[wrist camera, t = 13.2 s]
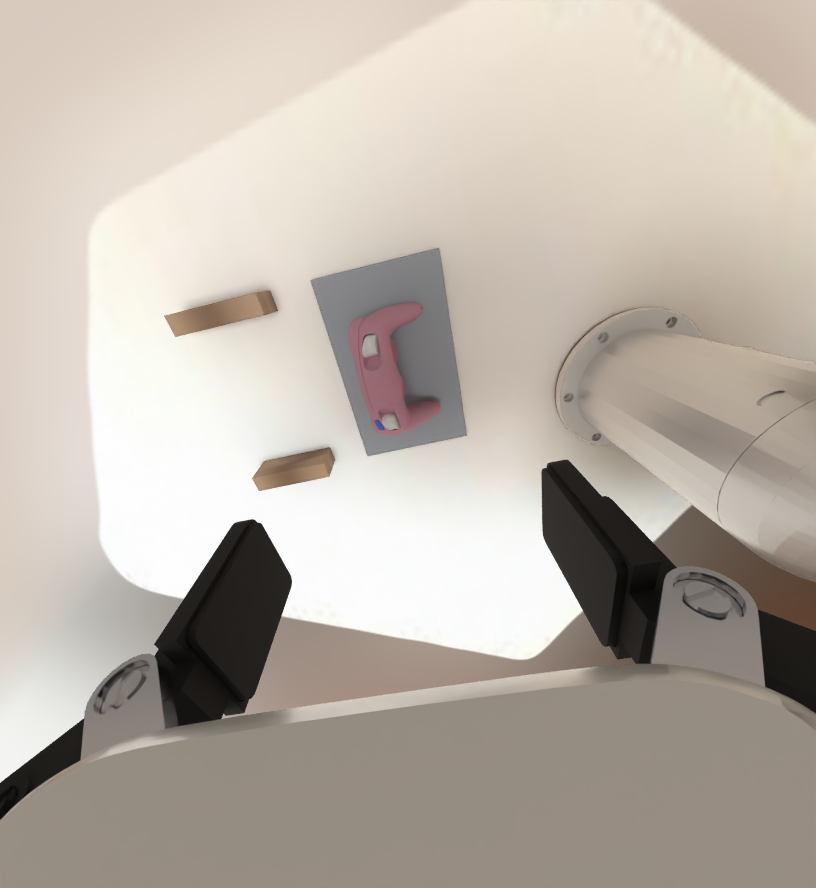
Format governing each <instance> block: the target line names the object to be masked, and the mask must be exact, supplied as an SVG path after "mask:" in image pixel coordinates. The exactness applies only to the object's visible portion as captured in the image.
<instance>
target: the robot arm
mask: <svg viewBox="0 0 816 888" xmlns="http://www.w3.org/2000/svg"><path fill="white" fill-rule="evenodd" d="M599 335H600V336H599ZM598 336H599V338H598ZM565 395H566V396H565ZM556 405H557V411H558V413H559V415H560V418H561V420H562V422H563V423H564V424H565V426H566V427H567V428H568V429H569V430H570V431H571V432H572V433H573V434H574V435H576V436H577V437H579V438H580V439H582V440H584V441H586V442H588V443H591V444H595V445H602V446H616V445H617V446H618V447H619V448H620V449H622V450H623V451H624V452H625V453H627V454H628V455H629V456H631V457H632V458H633V459H634V460H636V461H637V462H638V463H640V464H641V465H642V466H643V467H645V468H646V469H647V470H649V471H650V472H651V473H652V474H654V475H655V476H656V477H658V478H659V479H660V480H661V481H663V482H664V483H665V484H667V485H668V486H669V487H670V488H672V489H673V490H674V491H675V492H677V493H678V494H679V495H681V496H682V497H683V498H684V499H686V500H687V501H688V502H690V503H691V504H692V505H693V506H695V507H696V508H697V509H699V510H700V511H701V512H702V513H704V514H705V515H706V516H708V517H709V518H710V519H711V520H713V521H714V522H715V523H717V524H718V525H719V526H720V527H722V528H723V529H724V530H726V531H727V532H728V533H730V534H731V535H732V536H734V537H735V538H736V539H738V540H739V541H740V542H741V543H743V544H744V545H745V546H747V547H748V548H749V549H750V550H752V551H753V552H755V553H756V554H758V555H759V556H760V557H762V558H763V559H765V560H767V561H769V562H770V563H772V564H774V565H775V566H777V567H780V568H781V569H784V570H786V571H788V572H790V573H793V574H795V575H797V576H799V577H803V578H806V579H809V580H812V581H815V582H816V363H812V362H808V361H803V360H798V359H794V358H789V357H784V356H780V355H775V354H770V353H766V352H761V351H756V350H754V348H752V347H738V346H733V345H728V344H724V343H719V342H714V341H709V340H705V339H702V337H701V335H700V333H699V330H698V329H697V328H696V326H695V325H694V324H693V323H692V322H691V320H689V319H688V318H686V317H685V316H683V315H682V314H680V313H677V312H674V311H671V310H668V309H660V308H638V309H633V310H629V311H625V312H622V313H620V314H617V315H615V316H613V317H610V318H609V319H607V320H605V321H604V322H602V323H601V324H599V325H597V326H596V327H595V328H593V329H592V330H591V331H590V332H589V333H588V334H586V335H585V336H584V337H583V338H582V339H581V340H580V342H579V343H578V344H577V345H576V346H575V347H574V348H573V350H572V351H571V353H570V354H569V356H568V358H567V359H566V361H565V363H564V365H563V367H562V369H561V372H560V374H559V378H558V382H557V386H556ZM542 525H543V536H544V539H545V542H546V544H547V546H548V548H549V549H550V551H551V553H552V555H553V557H554V559H555V560H556V562H557V564H558V566H559V568H560V569H561V571H562V573H563V575H564V577H565V579H566V580H567V582H568V584H569V586H570V588H571V589H572V591H573V593H574V595H575V597H576V599H577V600H578V602H579V604H580V606H581V608H582V609H583V611H584V613H585V615H586V617H587V619H588V620H589V622H590V624H591V626H592V627H593V629H594V631H595V633H596V635H597V637H598V638H599V640H600V641H601V643H602V645H603V646H605V647H606V646H610V647H611V649H612V651H613V652H614V654H615V656H616V658H617V659H624V658H631V657H632V659H633V660H634V662H635V664H625V665H610V666H598V667H590V668H582V669H573V670H565V671H556V672H548V673H539V674H531V675H524V676H516V677H509V678H503V679H495V680H488V681H480V682H473V683H465V684H458V685H451V686H444V687H436V688H430V689H423V690H415V691H409V692H401V693H394V694H387V695H380V696H373V697H366V698H359V699H352V700H345V701H339V702H332V703H325V704H318V705H311V706H304V707H298V708H291V709H284V710H278V711H271V712H264V713H257V714H251V715H245V716H237V717H231V718H225V719H221V718H222V715H223V713H224V714H225V715H226V716H227V715H234V714H240V713H244V712H245V709H246V707H247V704H248V701H249V699H251V698H252V697H253V695H254V694H255V692H256V689H257V686H258V683H259V680H260V677H261V674H262V671H263V668H264V665H265V662H266V660H267V657H268V654H269V651H270V648H271V644H272V642H273V639H274V636H275V633H276V630H277V627H278V624H279V621H280V618H281V615H282V612H283V610H284V607H285V604H286V601H287V598H288V595H289V592H290V589H291V585H292V579H291V575H290V573H289V572H288V570H287V568H286V566H285V565H284V563H283V561H282V559H281V557H280V556H279V554H278V552H277V550H276V549H275V547H274V545H273V543H272V541H271V540H270V538H269V536H268V534H267V533H266V531H265V529H264V527H263V525H262V524H261V523H257V522H256V521H255V520H252V519H251V520H246V521H241V522H236V523H234V524H233V525H232V527H231V528H230V530H229V531H228V533H227V534H226V536H225V537H224V539H223V540H222V542H221V543H220V545H219V546H218V548H217V550H216V551H215V553H214V554H213V556H212V557H211V559H210V560H209V562H208V563H207V565H206V566H205V568H204V569H203V571H202V572H201V574H200V575H199V577H198V578H197V580H196V582H195V583H194V585H193V586H192V588H191V589H190V591H189V592H188V594H187V595H186V597H185V598H184V600H183V601H182V603H181V604H180V606H179V607H178V609H177V610H176V612H175V614H174V615H173V617H172V618H171V620H170V621H169V623H168V624H167V626H166V627H165V629H164V630H163V632H162V633H161V635H160V636H159V638H158V639H157V641H156V642H155V644H154V645H155V646H157V648H158V649H159V650H158V652H157V653H156V655H155V656H153V655H151V654H141V655H138V656H136V657H133V658H131V659H129V660H128V661H126V662H124V663H122V664H121V665H120V666H119V667H117V668H116V669H115V670H113V671H112V672H111V673H110V674H109V675H108V676H107V677H106V678H105V679H104V680H103V681H102V682H101V683H100V685H99V686H98V687H97V688H96V690H95V691H94V692H93V694H92V696H91V698H90V699H89V701H88V703H87V706H86V710H85V717H84V719H83V720H81V721H80V722H79V723H77V724H76V725H75V726H74V727H72V728H71V729H70V730H68V731H67V732H66V733H64V734H63V735H62V736H61V737H59V738H58V739H57V740H55V741H54V742H53V743H52V744H50V745H49V746H47V747H46V748H45V749H44V750H42V751H41V752H40V753H39V754H37V755H36V756H34V757H33V758H32V759H31V760H29V761H28V762H27V763H25V764H24V765H23V766H22V767H20V768H19V769H18V770H16V771H15V772H14V773H12V774H11V775H10V776H9V777H7V778H6V779H5V780H3V781H2V782H1V783H0V888H816V631H814V630H811V629H808V628H805V627H803V626H800V625H798V624H795V623H792V622H790V621H787V620H784V619H782V618H779V617H776V616H774V615H771V614H768V613H766V612H763V611H760V610H757V607H756V604H755V601H754V600H753V599H752V597H751V596H750V595H749V594H748V592H747V591H746V590H744V589H743V588H742V587H741V586H740V585H738V584H737V583H736V582H734V581H733V580H731V579H729V578H727V577H726V576H724V575H722V574H719V573H717V572H713V571H711V570H708V569H704V568H699V567H684V566H683V567H679V568H676V566H675V565H674V564H673V563H672V562H671V561H670V560H669V559H668V558H667V557H666V556H665V555H664V554H663V553H662V552H661V551H660V550H659V549H658V548H657V546H656V545H655V544H654V543H653V542H652V541H651V540H650V539H649V538H648V537H647V536H646V535H645V534H644V533H643V532H642V531H641V530H640V529H639V527H638V526H637V525H636V524H635V523H634V522H633V521H632V520H631V519H630V518H629V517H628V516H627V515H626V514H625V513H624V512H623V511H622V510H621V509H620V507H619V506H618V505H617V504H616V503H615V502H614V501H613V500H612V499H610V498H609V497H606V496H603V497H602V496H601V495H600V494H599V493H598V492H597V491H596V490H595V489H594V487H593V486H592V485H591V484H590V483H589V482H588V481H587V480H586V479H585V478H584V477H583V475H582V474H581V473H580V472H579V471H578V470H577V469H576V468H575V467H574V466H573V465H572V463H571V462H570V461H568V460H562V461H556V462H551V463H548V464H547V468H544V469H542Z"/></svg>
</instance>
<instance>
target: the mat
mask: <svg viewBox="0 0 816 888" xmlns="http://www.w3.org/2000/svg"><path fill="white" fill-rule="evenodd" d="M311 283H312V286H313V289H314V292H315V296H316V299H317V302H318V305H319V308H320V311H321V314H322V317H323V320H324V323H325V326H326V330H327V333H328V336H329V339H330V342H331V345H332V348H333V351H334V354H335V357H336V360H337V364H338V367H339V370H340V373H341V376H342V379H343V382H344V385H345V388H346V391H347V394H348V398H349V401H350V404H351V407H352V410H353V413H354V416H355V419H356V422H357V425H358V428H359V431H360V435H361V438H362V441H363V444H364V447H365V450H366V453H367V456H371V455H376V454H381V453H385V452H390V451H395V450H400V449H405V448H409V447H414V446H419V445H424V444H429V443H433V442H438V441H443V440H448V439H453V438H457V437H462V436H467V434H466V427H465V420H464V414H463V407H462V400H461V393H460V386H459V380H458V373H457V366H456V359H455V353H454V346H453V339H452V332H451V326H450V319H449V312H448V305H447V299H446V292H445V285H444V278H443V271H442V265H441V258H440V251H439V248H437V249H433V250H429V251H425V252H421V253H417V254H413V255H409V256H405V257H401V258H397V259H393V260H389V261H385V262H381V263H377V264H373V265H369V266H365V267H361V268H357V269H353V270H349V271H345V272H341V273H337V274H333V275H330V276H326V277H322V278H318V279H314V280H311ZM409 302H411V303H418V304H420V305H421V306H422V308H423V310H422V312H421V314H420V315H419V316H418V317H417V318H416V319H415V320H413V321H411V322H409V323H407V324H405V325H403V326H401V327H399V328H398V329H397V330H395V331H394V332H393V333H392V334H391V338H392V339H394V341H395V342H396V345H397V349H398V360H397V363H396V366H397V368H398V370H399V373H400V375H401V376H402V377H403V378H404V380H405V383H406V390H407V391H406V396H405V399H404V402H405V404H406V406H407V405H410V404H414V403H418V402H423V401H435V402H438V403H440V405H441V410H440V411H439V413H438V414H437V415H436V416H435V417H433V418H431V419H430V420H428V421H426V422H424V423H422V424H420V425H418V426H417V427H415V428H413V429H411V430H409V431H406V432H403V433H400V434H396V435H379V434H378V433H376V431H375V430H374V429H373V426H372V424H371V416H370V413H369V411H368V409H367V407H366V404H365V401H364V399H363V396H362V393H361V389H360V386H359V382H358V378H357V373H356V367H355V361H354V358H353V356H352V353H351V351H350V348H349V343H348V331H349V326H350V324H351V322H352V321H353V320H355V319H359V318H364V317H366V316H368V315H370V314H372V313H374V312H376V311H378V310H380V309H383V308H385V307H388V306H392V305H396V304H400V303H409Z"/></svg>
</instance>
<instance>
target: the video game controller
mask: <svg viewBox="0 0 816 888" xmlns="http://www.w3.org/2000/svg"><path fill="white" fill-rule="evenodd" d="M422 310H423V308H422V306H421V305H420V304H418V303H411V302H409V303H400V304H396V305H392V306H388V307H385V308H383V309H380V310H378V311H376V312H374V313H372V314H370V315H368V316H366V317H364V318H359V319H355V320H353V321H352V322H351V324H350V326H349V331H348V343H349V348H350V351H351V353H352V356H353V358H354V361H355V367H356V373H357V378H358V382H359V386H360V389H361V393H362V396H363V399H364V401H365V404H366V407H367V409H368V411H369V413H370V416H371V424H372V426H373V429H374V430H375V431H376V433H378V434H379V435H396V434H400V433H403V432H406V431H409V430H411V429H413V428H415V427H417V426H418V425H420V424H422V423H424V422H426V421H428V420H430V419H431V418H433V417H435V416H436V415H437V414H438V413H439V411H440V410H441V405H440V403H438V402H435V401H423V402H418V403H414V404H410V405H407V406H406V404H405V402H404V399H405V396H406V391H407V390H406V383H405V380H404V378H403V377H402V376H401V375H400V373H399V370H398V368H397V366H396V363H397V360H398V349H397V345H396V342H395V341H394V339H392V338H391V334H392V333H393V332H394V331H395V330H397V329H398V328H399V327H401V326H403V325H405V324H407V323H409V322H411V321H413V320H415V319H416V318H417V317H418V316H419V315H420V314H421V312H422Z"/></svg>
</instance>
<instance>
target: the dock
mask: <svg viewBox="0 0 816 888" xmlns="http://www.w3.org/2000/svg"><path fill="white" fill-rule="evenodd" d="M275 311H278V310H277V308H276V305H275V303H274V300H273V297H272V295H271V292H270V291H265V292H258V293H253V294H249V295H245V296H241V297H237V298H233V299H229V300H225V301H221V302H217V303H213V304H209V305H205V306H201V307H197V308H193V309H189V310H185V311H181V312H177V313H174V314H170V315H166V316H164V317H165V318H166V320H167V322H168V324H169V326H170V328H171V330H172V331H173V333H174V335H175V337H177V336H181V335H185V334H189V333H193V332H198V331H202V330H206V329H210V328H214V327H218V326H222V325H226V324H230V323H234V322H238V321H242V320H246V319H250V318H254V317H258V316H262V315H266V314H269V313H272V312H275ZM334 461H335V459H334V457H333V454H332V452H331V449H330V448H326V449H321V450H317V451H312V452H307V453H302V454H298V455H293V456H288V457H284V458H279V459H274V460H269V461H265V462H263V464H262V465H261V467H260V468H259V469H258V471H257V472H256V474H255V475H254V476H253V478H252V479H253V481H254V482H255V484H256V486H257V488H258V490H259V491H262V490H267V489H271V488H276V487H281V486H286V485H291V484H296V483H301V482H306V481H310V480H315V479H320V478H325V477H329V476H330V473H331V470H332V467H333V464H334Z"/></svg>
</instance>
